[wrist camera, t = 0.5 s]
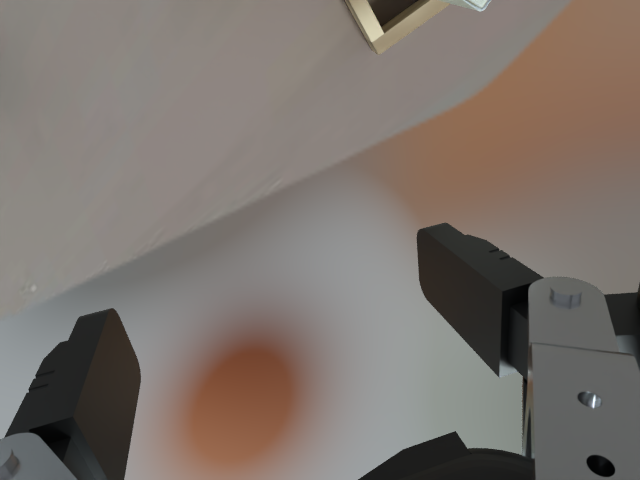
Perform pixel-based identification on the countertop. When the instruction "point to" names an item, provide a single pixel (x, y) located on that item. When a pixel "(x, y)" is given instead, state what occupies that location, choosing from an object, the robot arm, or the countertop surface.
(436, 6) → the square wooden frame
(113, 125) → the countertop surface
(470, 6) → the skincare box
